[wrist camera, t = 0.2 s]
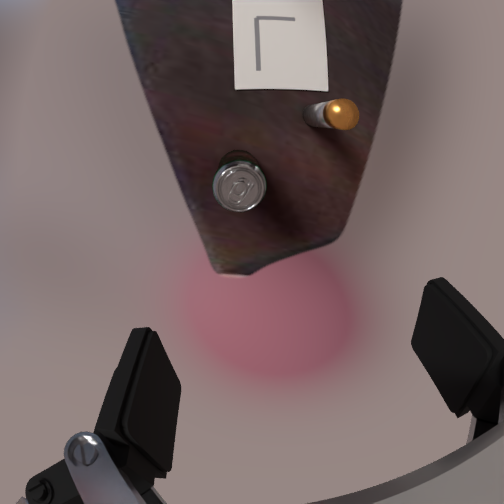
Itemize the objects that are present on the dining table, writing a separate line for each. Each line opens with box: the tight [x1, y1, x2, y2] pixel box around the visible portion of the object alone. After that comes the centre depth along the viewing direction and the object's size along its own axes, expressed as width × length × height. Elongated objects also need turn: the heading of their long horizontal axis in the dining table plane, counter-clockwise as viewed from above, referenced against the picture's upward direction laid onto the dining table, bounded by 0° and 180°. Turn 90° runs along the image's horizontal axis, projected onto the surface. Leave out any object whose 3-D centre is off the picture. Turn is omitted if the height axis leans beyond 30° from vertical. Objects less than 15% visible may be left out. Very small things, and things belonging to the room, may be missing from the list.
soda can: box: [213, 150, 267, 212], centre depth 30 cm, size 5×5×12 cm
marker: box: [303, 99, 359, 130], centre depth 28 cm, size 3×3×11 cm
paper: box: [232, 0, 328, 91], centre depth 28 cm, size 15×12×1 cm
